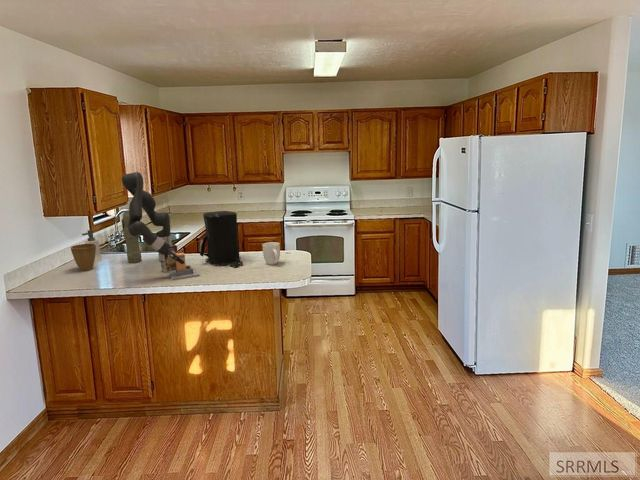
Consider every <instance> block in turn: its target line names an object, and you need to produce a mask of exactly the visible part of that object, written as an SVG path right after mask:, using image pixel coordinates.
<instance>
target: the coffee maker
mask: <svg viewBox="0 0 640 480" xmlns="http://www.w3.org/2000/svg"><path fill="white" fill-rule="evenodd" d="M237 215H238V213H237V212H234V211H230V210H229V211H228V210H218V211H209V212H203V215H202V217H203V222H204V228H205V235H204V236H203V237H202V238H201V240H200V244H199V256H201V257H204V256H205V257H207V258H205V262H207V263H208V264H209V265H210V264H211V265H214V266H219V267H221V266H222V267H225V266H229V267H232V268H237V267H240V266H243V265H244V262H243V261H241V259H240V248H239V239H238V219H237ZM206 243H207V244H206ZM206 248H207V252H206V253H205V249H206Z"/></svg>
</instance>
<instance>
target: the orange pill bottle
mask: <svg viewBox="0 0 640 480" xmlns="http://www.w3.org/2000/svg"><path fill="white" fill-rule="evenodd" d="M176 254H177V256H178V257H180V259H182V260H183V261H184V264H181V263H179V262H178V261H176V267H177V271H179V270H186V266H187V265H186V256H185V255H186V254H185V252H178V253H176ZM175 259H177V257H176V258H175Z"/></svg>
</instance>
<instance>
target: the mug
mask: <svg viewBox="0 0 640 480" xmlns="http://www.w3.org/2000/svg"><path fill="white" fill-rule="evenodd" d="M262 254H263V258H264V261H265V263H266V264H267V265H269V266H274V265H277V264H278V263H279V261H280V256H281V246H280V242H274V241H269V242H265V243H263V244H262Z"/></svg>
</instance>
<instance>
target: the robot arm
mask: <svg viewBox="0 0 640 480" xmlns="http://www.w3.org/2000/svg"><path fill="white" fill-rule="evenodd" d="M121 182H122V184H123V186H124V188H125V189H126V190H127V191H128V192H129V193H130V194H131V195H132V199H131V200H130V202H129V206H128V211H129V215H130V218H129V224H128V231H129V233H130V234H131V235H132V236H138V237H139V235H141V236H142V241H143V242H144V243H146V244H147V245H148V246H150V247H151V249H153V250H155V251H156V252H157V253H158V260H159V262H161V258H160V254H162V255H164V254H165V253H167V255H168V256H169V257H171V258H172V259H174V260H175V261H178V262H179V263H181V264H184V261H183V260H182V259H180V257H178V256H177V254H176V253H175V252H174V251H173V250H172V249H169V248H170V245H171V244H172V237H171V235H172V234H171V218H170V217H171V216H170V215H169V213H168V212H158V211H155V208H156V205H157V203H156V200H155V198H154V197H153V195H152V194H151V193H150V192H148V191H146V190H144V177H143V175H142V174H141V172H139V171H135V172H131V173H125V174H123V175H122V176H121ZM143 211H144V212H145V213H146V215H147V216H148V218H149V220H150V222H151V223H152V225H153V226H155V227H162V229H161V230H158V231H157V232H156V233H154V232H152V230H151V229H150V228H149V226H148V225H146V224H145V223H144V222H143V221H141V220H142V218H143ZM176 257H177V259H175V258H176Z"/></svg>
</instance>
